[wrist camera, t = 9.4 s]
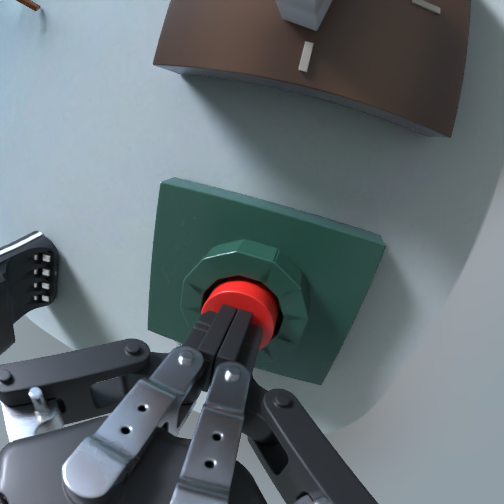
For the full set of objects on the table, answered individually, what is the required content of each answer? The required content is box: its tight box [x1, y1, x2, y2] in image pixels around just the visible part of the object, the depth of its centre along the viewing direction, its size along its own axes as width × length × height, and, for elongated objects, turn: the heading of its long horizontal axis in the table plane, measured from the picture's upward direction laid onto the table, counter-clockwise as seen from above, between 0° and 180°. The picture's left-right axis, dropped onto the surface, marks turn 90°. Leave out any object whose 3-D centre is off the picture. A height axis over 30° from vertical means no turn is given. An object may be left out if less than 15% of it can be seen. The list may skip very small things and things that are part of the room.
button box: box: [148, 178, 386, 385], centre depth 17 cm, size 12×10×4 cm
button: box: [201, 275, 279, 350], centre depth 15 cm, size 4×4×2 cm
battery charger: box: [0, 231, 58, 355], centre depth 17 cm, size 7×4×11 cm, turn 156°
